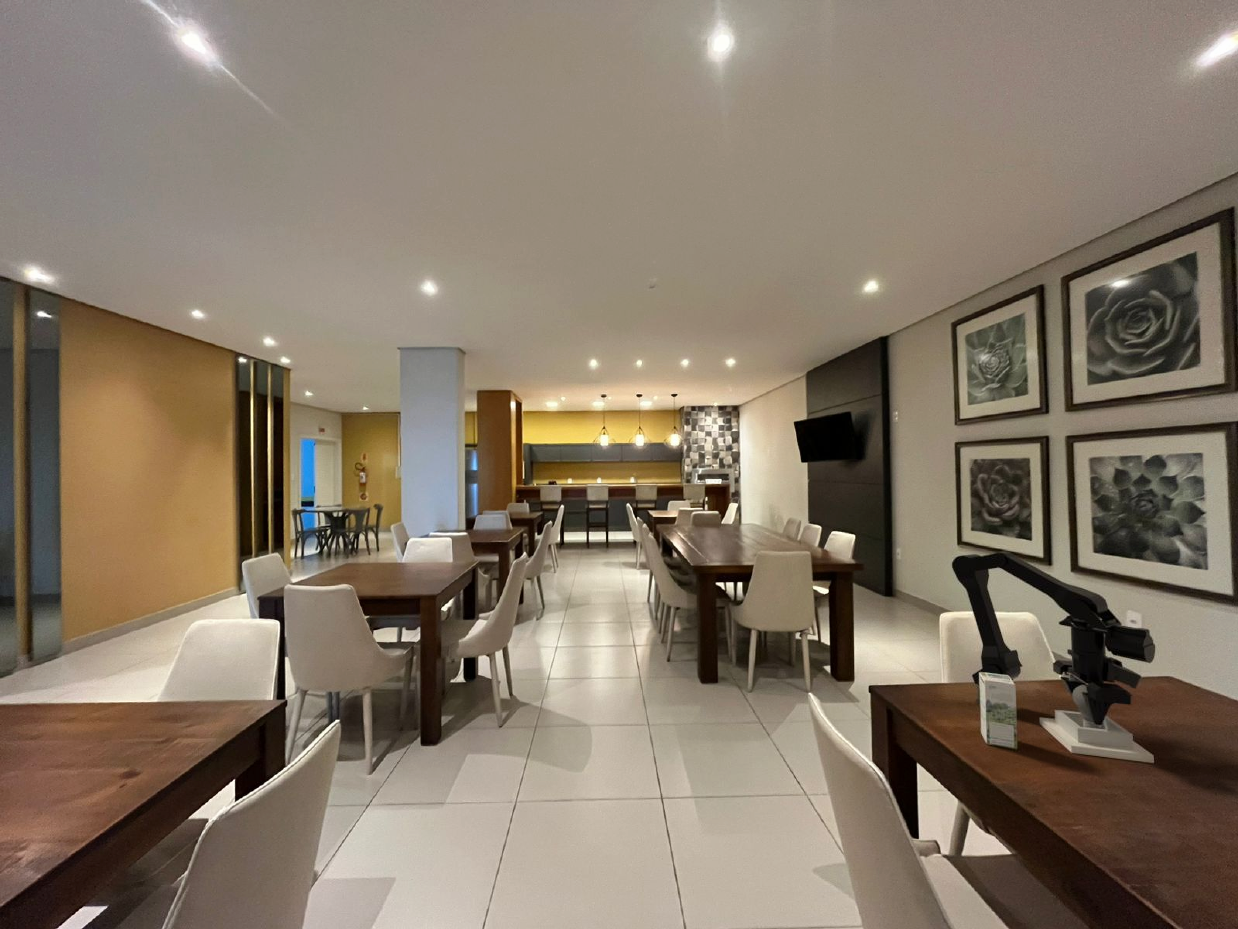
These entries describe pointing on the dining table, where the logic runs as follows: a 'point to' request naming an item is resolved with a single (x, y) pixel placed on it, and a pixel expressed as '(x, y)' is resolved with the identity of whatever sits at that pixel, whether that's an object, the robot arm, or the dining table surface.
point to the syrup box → (998, 710)
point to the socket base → (1094, 737)
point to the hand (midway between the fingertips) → (1090, 719)
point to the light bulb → (1083, 707)
